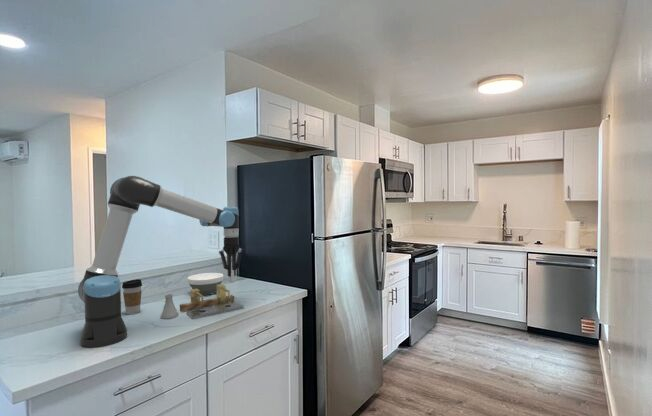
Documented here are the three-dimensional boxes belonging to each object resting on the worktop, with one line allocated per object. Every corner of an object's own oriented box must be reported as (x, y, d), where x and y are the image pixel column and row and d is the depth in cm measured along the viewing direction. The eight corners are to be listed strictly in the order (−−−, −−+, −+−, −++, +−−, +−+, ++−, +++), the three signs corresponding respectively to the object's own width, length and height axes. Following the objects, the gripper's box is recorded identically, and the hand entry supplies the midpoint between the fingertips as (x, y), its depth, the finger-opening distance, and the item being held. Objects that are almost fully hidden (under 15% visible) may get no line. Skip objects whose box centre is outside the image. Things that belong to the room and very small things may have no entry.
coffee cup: (145, 311, 169) (144, 280, 168) (126, 316, 162) (125, 283, 162) (139, 308, 174) (138, 278, 174) (120, 312, 168) (119, 281, 168)
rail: (187, 317, 159) (186, 297, 158) (179, 310, 170) (178, 291, 170) (242, 306, 174) (241, 287, 174) (231, 300, 185) (230, 283, 185)
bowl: (210, 287, 216) (209, 271, 216) (231, 291, 205) (230, 274, 205) (180, 294, 201) (180, 277, 200) (201, 299, 189) (201, 281, 189)
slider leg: (226, 308, 169) (226, 289, 169) (216, 302, 181) (216, 284, 181) (232, 306, 171) (232, 288, 171) (222, 300, 182) (222, 283, 182)
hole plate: (192, 319, 156) (192, 316, 156) (186, 314, 163) (186, 311, 163) (243, 308, 170) (243, 305, 170) (236, 304, 177) (236, 301, 177)
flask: (171, 319, 156) (170, 297, 156) (157, 319, 157) (156, 296, 157) (181, 314, 163) (180, 293, 163) (167, 314, 164) (166, 292, 164)
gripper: (221, 237, 176) (221, 285, 176) (246, 236, 183) (246, 281, 183) (216, 237, 182) (216, 283, 182) (240, 235, 189) (240, 279, 190)
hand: (231, 282), depth 183 cm, fingers closed
